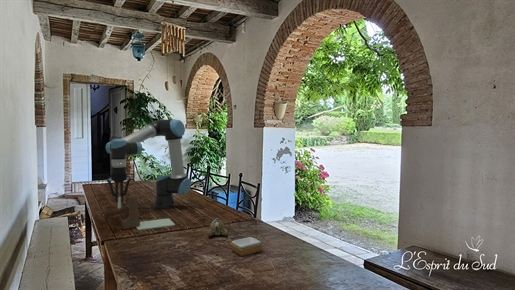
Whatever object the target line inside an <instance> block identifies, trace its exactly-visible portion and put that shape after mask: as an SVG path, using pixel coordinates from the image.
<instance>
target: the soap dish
mask: <svg viewBox="0 0 515 290" xmlns="http://www.w3.org/2000/svg"><path fill="white" fill-rule="evenodd" d="M229 244H230V247H231V249H232V251H233V252H235V253H236V254H238V255H239V256H240V257H243V256H246V255H247V256H248V255H250V254H255V253H259V252H260V251H261V249H262V248H263V244H262V243H261V241H260V240H258V239H257V238H254V237H252V236H250V237H244V238H239V239H235V240H232V241H231V242H230V243H229Z"/></svg>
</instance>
